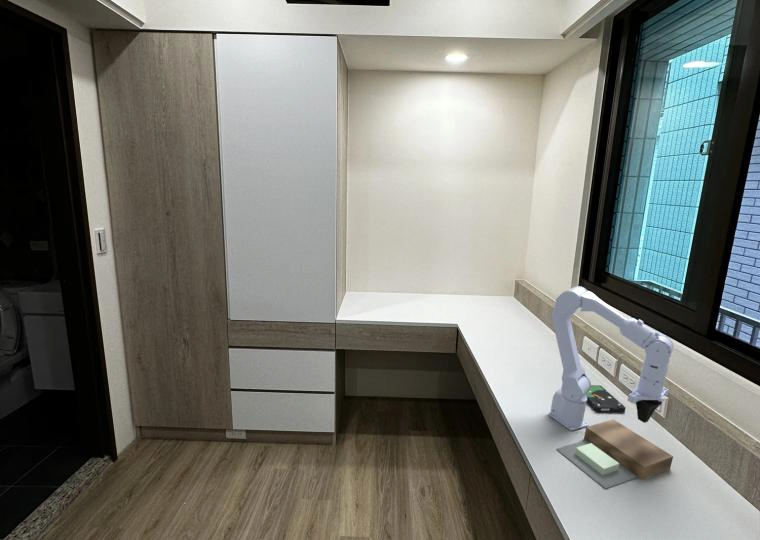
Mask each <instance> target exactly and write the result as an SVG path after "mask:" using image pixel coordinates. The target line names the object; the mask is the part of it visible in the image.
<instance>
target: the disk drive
mask: <svg viewBox="0 0 760 540" xmlns="http://www.w3.org/2000/svg"><path fill="white" fill-rule="evenodd" d="M586 396H587V402H586V405H588V406H589V407H590V408H591V409H592V410H593V411H594V412H595V413H597V414H625V413H626V406H625V405H624V404H623V403H622V402H620V401H619V400H618V399H616V397H614V396H613V395H612V394H611V393H610V392H609V391H607V389H606V388H604V387H603V386H602V385H599V384H598V385H596V384H595V385H594V384H593V385H592V384H591V387H590V389H589V390H588V391H587V392H586Z"/></svg>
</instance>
